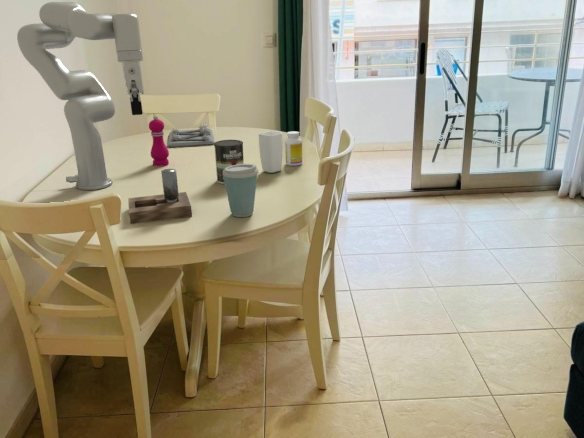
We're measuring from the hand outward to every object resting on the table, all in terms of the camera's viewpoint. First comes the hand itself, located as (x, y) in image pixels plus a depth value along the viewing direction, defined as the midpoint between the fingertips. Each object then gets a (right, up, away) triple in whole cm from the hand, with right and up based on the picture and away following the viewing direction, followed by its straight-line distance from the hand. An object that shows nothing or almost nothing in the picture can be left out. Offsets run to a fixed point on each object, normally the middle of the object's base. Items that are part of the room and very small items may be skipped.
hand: (137, 112), depth 172 cm
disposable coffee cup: (+35, -33, -8) cm, 48 cm away
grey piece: (0, +4, +91) cm, 91 cm away
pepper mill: (-4, -12, +49) cm, 50 cm away
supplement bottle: (+50, -12, +44) cm, 68 cm away
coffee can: (+27, -20, +25) cm, 42 cm away
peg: (+12, -32, -4) cm, 34 cm away
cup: (+42, -16, +35) cm, 57 cm away
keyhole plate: (+9, -32, -5) cm, 34 cm away
